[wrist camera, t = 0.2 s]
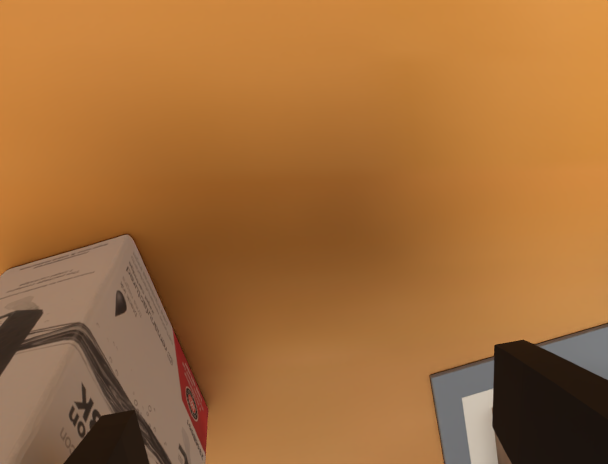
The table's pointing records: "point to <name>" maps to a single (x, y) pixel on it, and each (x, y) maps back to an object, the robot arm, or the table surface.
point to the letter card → (479, 396)
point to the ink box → (92, 358)
